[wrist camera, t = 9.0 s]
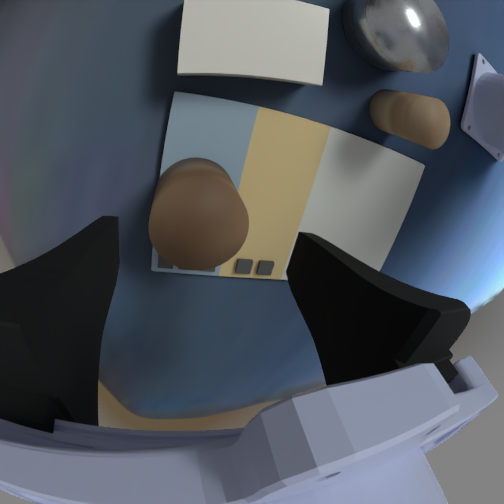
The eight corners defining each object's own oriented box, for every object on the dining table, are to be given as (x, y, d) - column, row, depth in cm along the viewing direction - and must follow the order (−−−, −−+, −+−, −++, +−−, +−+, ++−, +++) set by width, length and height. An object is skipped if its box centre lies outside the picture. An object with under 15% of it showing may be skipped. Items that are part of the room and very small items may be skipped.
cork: (407, 99, 15) (454, 111, 12) (396, 137, 17) (441, 156, 13) (375, 82, 14) (424, 89, 11) (364, 123, 16) (410, 138, 12)
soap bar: (309, 17, 12) (329, 9, 10) (302, 84, 14) (322, 85, 12) (185, 3, 10) (186, -12, 8) (178, 75, 13) (177, 73, 10)
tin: (419, 21, 12) (454, 20, 9) (401, 85, 15) (437, 91, 12) (353, -25, 10) (386, -38, 7) (329, 43, 13) (363, 37, 10)
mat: (421, 163, 18) (427, 166, 18) (371, 280, 24) (375, 285, 23) (174, 91, 13) (174, 91, 12) (151, 267, 18) (151, 273, 17)
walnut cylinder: (247, 176, 16) (267, 203, 13) (213, 240, 18) (222, 281, 14) (174, 144, 14) (171, 163, 11) (144, 216, 16) (135, 253, 12)
